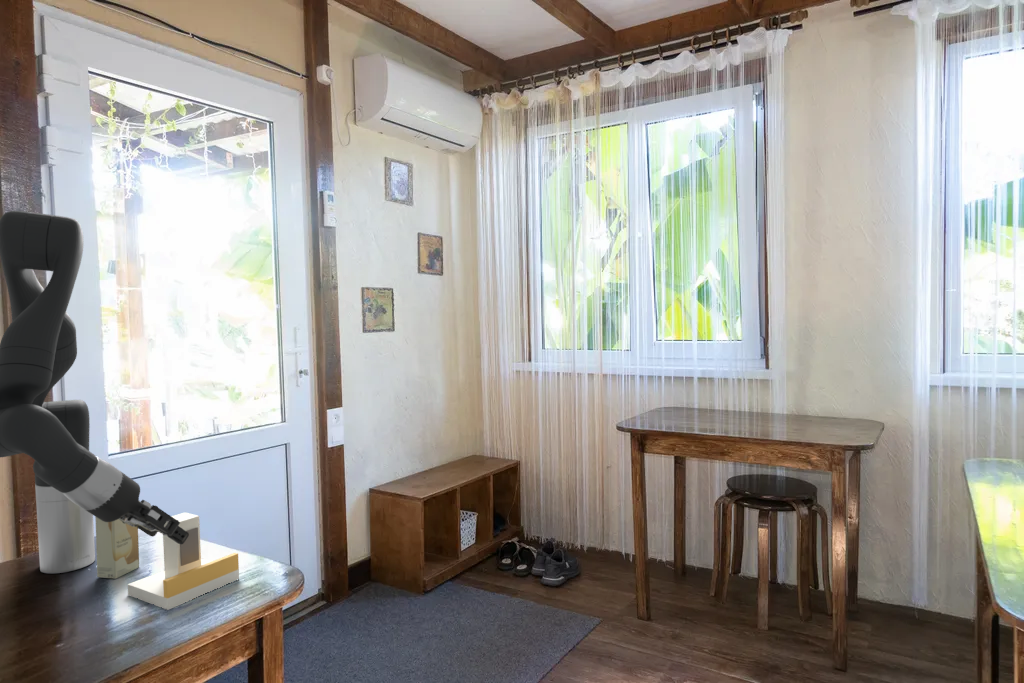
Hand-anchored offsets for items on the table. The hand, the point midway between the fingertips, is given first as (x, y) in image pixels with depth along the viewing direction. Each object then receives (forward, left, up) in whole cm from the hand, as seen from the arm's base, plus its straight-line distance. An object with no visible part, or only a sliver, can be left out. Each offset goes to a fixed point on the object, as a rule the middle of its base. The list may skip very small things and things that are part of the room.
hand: (170, 535), depth 118 cm
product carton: (0, +2, -8) cm, 9 cm away
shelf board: (0, +2, -10) cm, 11 cm away
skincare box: (-18, 0, -11) cm, 21 cm away
